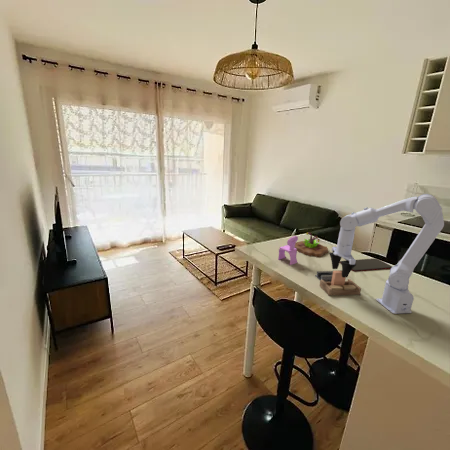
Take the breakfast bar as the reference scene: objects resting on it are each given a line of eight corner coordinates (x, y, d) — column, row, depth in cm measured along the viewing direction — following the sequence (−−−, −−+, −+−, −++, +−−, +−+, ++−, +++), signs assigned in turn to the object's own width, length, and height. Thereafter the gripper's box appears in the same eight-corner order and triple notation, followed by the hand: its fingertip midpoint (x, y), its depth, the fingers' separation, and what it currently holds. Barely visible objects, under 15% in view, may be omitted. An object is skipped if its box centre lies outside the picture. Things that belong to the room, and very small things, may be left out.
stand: (339, 281, 116) (340, 276, 115) (321, 281, 115) (321, 276, 114) (332, 275, 122) (333, 270, 121) (315, 275, 121) (315, 270, 120)
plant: (303, 242, 168) (305, 226, 165) (331, 251, 155) (334, 233, 151) (286, 249, 154) (288, 232, 151) (316, 259, 141) (319, 240, 138)
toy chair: (285, 256, 142) (288, 231, 138) (298, 262, 136) (302, 235, 132) (276, 259, 137) (278, 233, 133) (288, 265, 131) (292, 238, 127)
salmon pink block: (343, 289, 110) (346, 272, 107) (332, 289, 109) (335, 272, 107) (340, 286, 112) (344, 270, 109) (330, 287, 111) (333, 270, 109)
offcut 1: (341, 293, 106) (342, 287, 105) (330, 294, 105) (331, 287, 104) (339, 291, 108) (340, 285, 107) (328, 291, 107) (329, 285, 106)
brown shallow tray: (359, 294, 106) (361, 288, 105) (328, 295, 104) (329, 289, 103) (348, 285, 113) (349, 279, 112) (319, 285, 112) (320, 279, 111)
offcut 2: (354, 293, 107) (356, 287, 106) (343, 293, 106) (345, 287, 105) (351, 291, 109) (353, 284, 108) (341, 291, 108) (342, 285, 107)
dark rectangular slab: (337, 260, 138) (375, 257, 143) (337, 263, 138) (375, 260, 144) (353, 270, 126) (394, 267, 132) (352, 273, 127) (393, 269, 132)
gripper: (327, 237, 111) (322, 265, 115) (346, 249, 97) (340, 281, 101) (342, 237, 112) (337, 265, 116) (363, 249, 98) (356, 280, 102)
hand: (339, 272), depth 108 cm, fingers open, 7 cm apart
